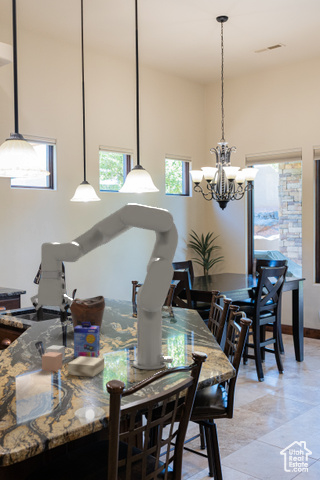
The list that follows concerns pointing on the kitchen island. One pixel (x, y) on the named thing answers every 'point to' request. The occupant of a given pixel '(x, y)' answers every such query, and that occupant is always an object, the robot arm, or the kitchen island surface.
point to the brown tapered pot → (88, 311)
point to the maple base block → (86, 366)
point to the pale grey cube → (57, 350)
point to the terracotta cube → (51, 361)
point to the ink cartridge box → (86, 341)
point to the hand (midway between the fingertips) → (51, 320)
